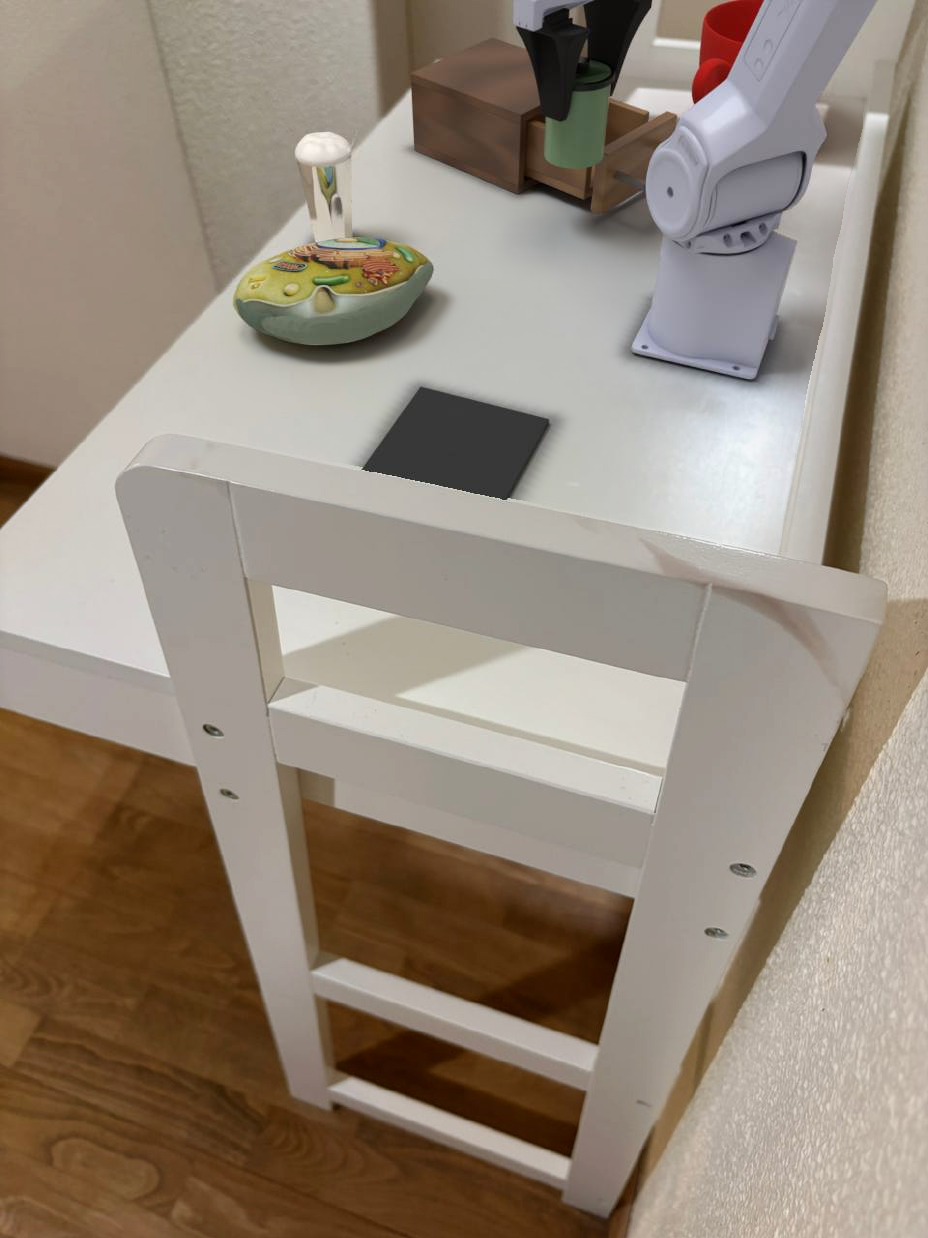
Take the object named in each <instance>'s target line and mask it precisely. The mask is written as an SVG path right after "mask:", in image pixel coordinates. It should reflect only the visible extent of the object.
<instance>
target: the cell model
mask: <svg viewBox="0 0 928 1238" xmlns="http://www.w3.org/2000/svg"><path fill="white" fill-rule="evenodd" d="M434 267H435V266H434V264H433V262H432V261H431V260H430V259H429V258H428V257H427V256H426V255H424V254H423V252H422V253H421V252H420V251H419V250H417V249H415V248H413V247H411V246H409V245H407V244H404V243H400V242H397V241H392V240H389V239H388V240H387V239H383V238H378V237H371V236H353V237H349V238H339V239H331V240H325V241H320V242H311V243H306V244H303V245H300V246H296V247H293V248H291V249H288V250H286V251H283V252H281V253H278V254H276V255H274V256H272V257H270V258H268V259H267V258H266V259H265V260H263V261H260V262H259V263H257V264H256V265H255V266H253V267H252V268H250V269H249V270H248V271H246V273H245V274H244V275H243V276H242V277H241V279H240V280H239V282H238V284H237V286H236V289H235V291H234V293H233V298H232V306H233V309H234V310H235V312H236V313H237V314H238V316H239V318H241V319H242V320H243V322H244V323H245V324H246V325H248V327H250V328H252V329H253V330H255V331H257V332H259V333H262V334H264V335H267V336H271V337H274V338H276V339H279V340H282V341H285V342H289V343H293V344H300V345H308V346H330V345H341V344H348V343H352V342H357V341H360V340H363V339H366V338H369V337H371V336H374V335H375V334H377V333H379V332H382V331H384V330H387V329H388V328H390V327H392V326H393V325H395V324H396V323H398V322H399V321H400V320H401V319H403V318H404V317H405V316H406V315H407V313H408V312H409V311H410V309H411V308H412V306H413V305H414V303H415V301H416V300H417V299H418V298H419V297H420V296H421V295H422V293H424V291H425V289H426V287H427V286H428V284H429V282H430V281H431V279H432V277H433V274H434V271H435V268H434Z"/></svg>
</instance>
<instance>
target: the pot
mask: <svg viewBox="0 0 928 1238" xmlns="http://www.w3.org/2000/svg"><path fill="white" fill-rule="evenodd" d="M614 79H615V70H614V68H613V67H612V66H611V65H610V64H608V63H606V62H603V61H600V60H597V59H592V58H587V56H581V55H580V58H579V61H578V65H577V69H576V73H575V78H574V85H573V92H572V99H571V105H570V110H569V113H568V116H567V119H566V120H564V121H562V122H559V121H556V120H554V119H551V118H548V117H546V122H545V140H544V157H545V159H546V160H547V161H548V162H549V163H551V164H553V165H555V166H558V167H562V168H569V169H581V168H587V167H591V166H594V165H596V164H598V163H599V162H601V160H602V159H603V156H604V146H605V136H606V127H607V117H608V107H609V98H611V97H610V87H611V84H612V83H613V81H614Z"/></svg>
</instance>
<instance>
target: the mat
mask: <svg viewBox="0 0 928 1238" xmlns="http://www.w3.org/2000/svg"><path fill="white" fill-rule="evenodd" d="M549 424H550V418H547V417H542V416H538V415H535V414H531V413H527V412H523V411H518V410H516V409H512V408H507V407H503V406H498V405H496V404H491V403H488V402H483V401H480V400H476V399H473V398H468V397H464V396H459V395H456V394H451V393H448V392H444V391H439V390H436V389H432V388H428V387H425V386H419V388H418V389H417V390H416V392H415V394H414V395H413V396H412V398H411V399H410V401H409V402H408V403H407V405H406V406H405V407H404V409H403V410H402V412H401V413H400V415H399V416H398V418H396V420H395V422H394V423H393V424H392V426H391V427H390V428H389V430H388V431H387V433H386V434H385V435H384V437H383V438H382V440H381V441H380V443H379V444H378V445H377V447H376V449H374V451H373V453H372V454H371V455H370V457H369V458H368V459H367V461H366V462H365V464H363V466H362V467H361V470H365V471H369V472H377V473H382V474H386V475H392V476H397V477H401V478H405V479H410V480H415V481H420V482H425V483H430V484H435V485H439V486H443V487H448V488H453V489H457V490H462V491H466V492H470V493H474V494H480V495H485V496H489V497H495V498H500V499H502V500H507V501H508V499H509V497H510V495H511V493H512V491H513V489H515V486H516V484H517V482H518V480H519V479H520V477H521V475H522V474H523V471H524V470H525V468H526V466H527V464H528V462H529V461H530V459H531V457H532V455H533V453H534V452H535V450H536V448H537V446H538V444H539V442H540V441H541V438H542V437H543V435H544V433H545V432H546V429H547V428H548V426H549Z"/></svg>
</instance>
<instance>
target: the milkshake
mask: <svg viewBox="0 0 928 1238" xmlns="http://www.w3.org/2000/svg"><path fill="white" fill-rule="evenodd" d="M358 131H359V127H356V130H355V132H354V136H353V139H352V142H351V144H350V143H349V142H348V140H347V139H345V138H344V137H343V136H341V135H339V134H337V133H334V132H332V131H322V132H321V131H319V132H312V133H311V132H310V133H307V134H305V135H304V136H303V137H302V138H301V139H300V140H299V142H298V143H297V145H296V147H295V150H294V156H295V160H296V165H297V169H298V172H299V176H300V180H301V185H302V188H303V192H304V196H305V200H306V204H307V209H308V213H309V219H310V223H311V228H312V232H313V233H312V234H313V237H314V241H315V242H320V241H325V240H331V239H339V238H349V237H354V236H353V217H352V216H353V215H352V214H353V213H352V209H353V208H352V149H353V145H354V143H355V140H356V136H357V133H358ZM315 242H314V243H315Z"/></svg>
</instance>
